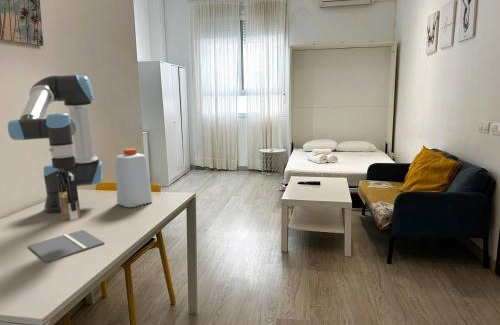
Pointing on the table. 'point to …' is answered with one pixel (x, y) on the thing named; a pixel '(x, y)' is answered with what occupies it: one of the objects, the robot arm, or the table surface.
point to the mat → (65, 245)
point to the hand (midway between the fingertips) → (71, 217)
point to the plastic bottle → (132, 179)
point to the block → (66, 206)
